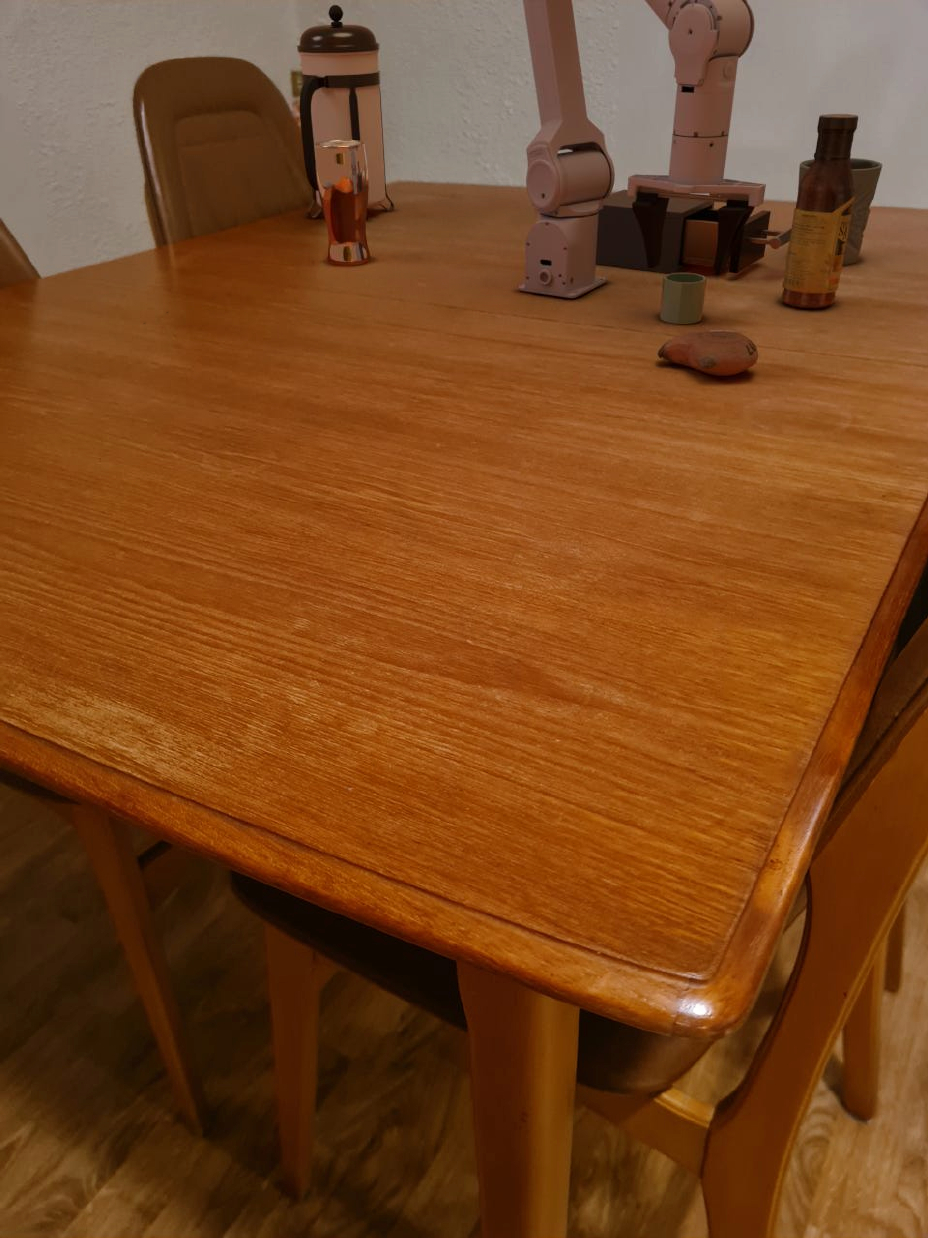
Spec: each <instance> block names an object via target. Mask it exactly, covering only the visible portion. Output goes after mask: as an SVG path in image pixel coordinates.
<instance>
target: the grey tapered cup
mask: <svg viewBox="0 0 928 1238" xmlns="http://www.w3.org/2000/svg"><path fill="white" fill-rule="evenodd" d="M813 162H814V158H813V159H807V160H804V161H801V162H800V164H799V171H798V187H797V189H798V188H799V184H800V182H801V180H802V178H803V176H804V175H805V173H806V172H807V171H808V169H809V168H810V167H811V165H812V164H813ZM850 162H851V169H852V177H853V184H854V191H855V198H854V204H853V209H852V214H851V221H850V226H849V232H848V237H847V242H846V248H845V252H844V258H843V263H842V266H849V265H853V264H854V263H855V264H856V262H858V260H859V258H860V254H861V250H862V246H863V238H864V235H865V234H864V232H865V231H866V228H867V225H868V220H869V218H870V214H871V208H870V206H871V205H872V202H873V200H874V198H875V194H876V191H877V188H878V183H879V180H880V175H881V172H882V169H883V164H882V163H881V162H879V161H876V160H873V159H866V158H858V157H850Z"/></svg>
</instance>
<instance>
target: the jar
mask: <svg viewBox="0 0 928 1238" xmlns="http://www.w3.org/2000/svg"><path fill="white" fill-rule="evenodd" d="M662 278H663V279H662V286H661V287H662V288H661V289H662V290H661V298H660V308H659V315H660V318H659V319H660V320H661V321H663V322H666V323H669V324H674V325H691V324H697V323H699V322H700V321H701V320H702V317H703V311H704V303H705V297H706V296H705V295H706V288H707V287H706V286H707V278H706V276H704V275H702V274H698V273H692V272H679V273H672V274H670V273H666V275H664V276H663V277H662Z"/></svg>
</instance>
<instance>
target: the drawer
mask: <svg viewBox="0 0 928 1238" xmlns="http://www.w3.org/2000/svg"><path fill="white" fill-rule="evenodd" d="M718 209H719V208H715V207H714V208H704V209H702V210H700V211H698V212H696V213H694V214H691V215H689V216H687V217H685V218H683V229H682V238H681V248H680V257H679V263H687V264H693V265H696V266H704V267H710V268H714V262H715V256H716V250H717V241H718ZM771 212H772V211H771V210H765V209H763V210H760V211H758V212H756V213H755V214H753V215H750V217H749V219H748V220H747V222H746V224H745V225H744V227H743V229H742V231H741V233H740V234H739V236H738V238H737V241H736V243H735V245H734V247H733V250H732V252H731V255H730V258H729V261H728V265H729V266H728V273H729V274H739V273H741V272H742V271H743V270H745V269H747V268H749V267H750V266H752V265H753V264H755V263H757V262H759V261H760V260H761V259H763V258H764V257H765V254H766V245H767V246H770V248H771V249H773V250H778V249H780V248H782V246H785V245H786V244H787V243H789V241H790V234H791V228H788V229H785V230H784V231H783V230H772V229H769V226H770V219H771ZM768 237H772V238H768Z"/></svg>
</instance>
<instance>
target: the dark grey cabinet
mask: <svg viewBox="0 0 928 1238" xmlns="http://www.w3.org/2000/svg"><path fill="white" fill-rule="evenodd" d="M627 190H628V189H622V190H619V191H616V192H614V193H610V195H609V196H608V197H607V198H606V199H605V200H604V201H603V209H601V210H599V211H598V212H599V214H598V231H597V249H596V265H603V266H610V267H618V268H624V269H625V268H626V269H632V270H639V271H640V270H641V271H648V272H654V273H661V274H672V273H681V272H682V271H684V270H686V269H688V268H689V267H691V266H693V265H694V264H687V263H679V257H680V248H681V238H682V229H683V218H685V217H687V216H689V215H691V214H694V213H696V212H698V211H700V210H702V209H704V208H714V209H715V202H711V201H699V200H687V199H675V198H669V202H668V207H667V211H666V216H665V221H664V227H663V234H662V250H661V259H660V264H659V265H658V266H656V267H654V268H647V258H646V251H645V245H644V241H643V236H642V233H641V230H640V227H639V224H638V221H637V219H636V216H635V214H634V212H633V210H632V203H633V202H635V201H636V198H637V196H627Z"/></svg>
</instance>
